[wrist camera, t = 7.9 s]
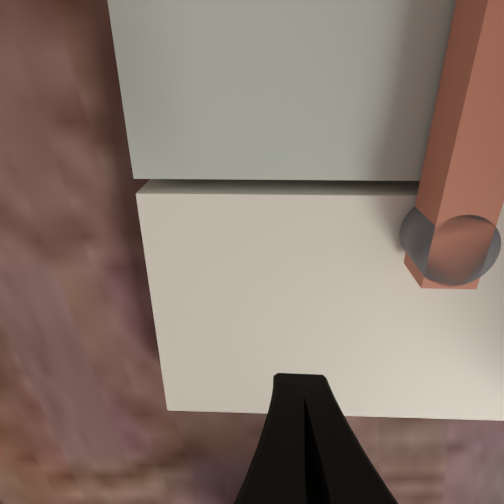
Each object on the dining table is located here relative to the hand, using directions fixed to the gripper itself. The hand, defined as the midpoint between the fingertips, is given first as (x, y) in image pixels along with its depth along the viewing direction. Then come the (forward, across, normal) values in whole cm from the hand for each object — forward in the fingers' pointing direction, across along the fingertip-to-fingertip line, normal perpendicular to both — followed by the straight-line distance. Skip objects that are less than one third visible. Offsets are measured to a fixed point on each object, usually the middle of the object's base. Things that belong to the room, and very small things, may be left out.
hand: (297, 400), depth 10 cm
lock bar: (+6, -6, -7) cm, 11 cm away
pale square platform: (+9, -3, -4) cm, 10 cm away
